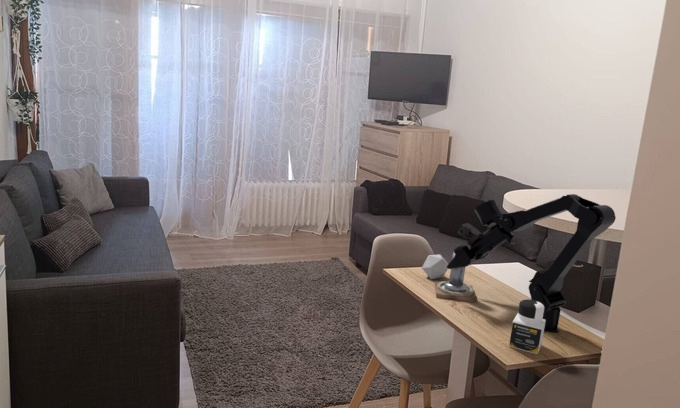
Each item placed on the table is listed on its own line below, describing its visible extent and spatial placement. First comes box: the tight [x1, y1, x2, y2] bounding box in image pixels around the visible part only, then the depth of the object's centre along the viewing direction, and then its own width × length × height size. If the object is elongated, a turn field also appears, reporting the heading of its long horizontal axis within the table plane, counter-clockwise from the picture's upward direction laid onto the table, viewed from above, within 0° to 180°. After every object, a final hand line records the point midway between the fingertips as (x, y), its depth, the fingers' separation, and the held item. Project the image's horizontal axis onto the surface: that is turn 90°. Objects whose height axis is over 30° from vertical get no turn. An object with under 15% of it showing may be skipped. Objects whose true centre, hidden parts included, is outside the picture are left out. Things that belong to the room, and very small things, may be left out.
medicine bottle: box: [508, 299, 546, 355], centre depth 143 cm, size 7×7×12 cm
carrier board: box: [434, 280, 477, 303], centre depth 179 cm, size 12×12×2 cm
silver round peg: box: [444, 251, 468, 293], centre depth 177 cm, size 7×7×12 cm
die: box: [421, 253, 449, 280], centre depth 192 cm, size 8×9×10 cm
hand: (453, 264), depth 178 cm, fingers open, 9 cm apart
